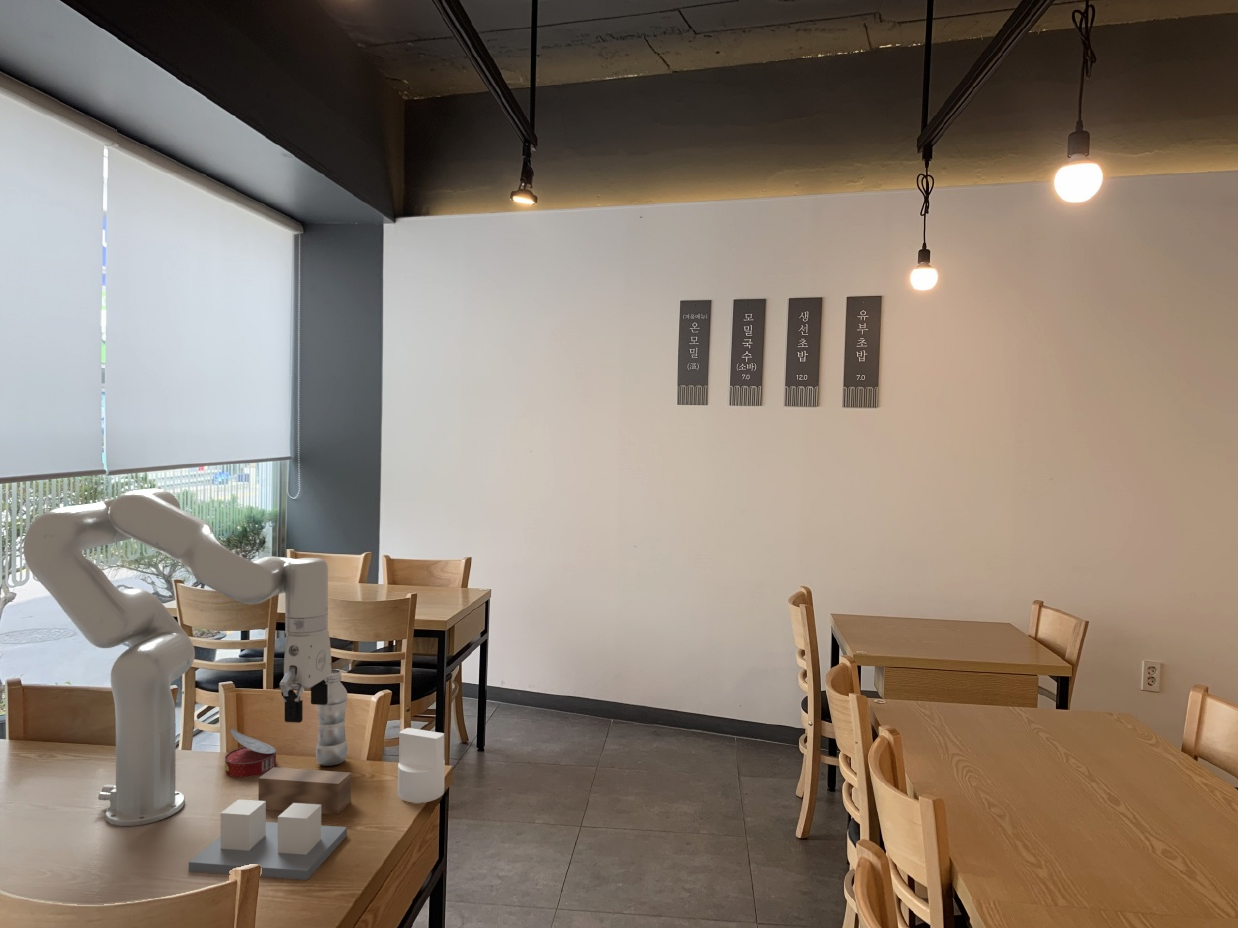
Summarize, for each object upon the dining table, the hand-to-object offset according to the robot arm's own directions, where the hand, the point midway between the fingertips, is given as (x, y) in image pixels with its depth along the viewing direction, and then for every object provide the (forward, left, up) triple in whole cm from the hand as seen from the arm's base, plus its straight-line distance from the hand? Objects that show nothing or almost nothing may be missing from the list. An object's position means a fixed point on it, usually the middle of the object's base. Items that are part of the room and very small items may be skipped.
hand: (306, 712), depth 146 cm
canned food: (-20, +15, -18) cm, 31 cm away
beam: (0, 0, -18) cm, 18 cm away
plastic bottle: (-4, +19, -18) cm, 26 cm away
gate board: (+3, -17, -18) cm, 25 cm away
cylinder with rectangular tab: (+20, +8, -18) cm, 28 cm away
